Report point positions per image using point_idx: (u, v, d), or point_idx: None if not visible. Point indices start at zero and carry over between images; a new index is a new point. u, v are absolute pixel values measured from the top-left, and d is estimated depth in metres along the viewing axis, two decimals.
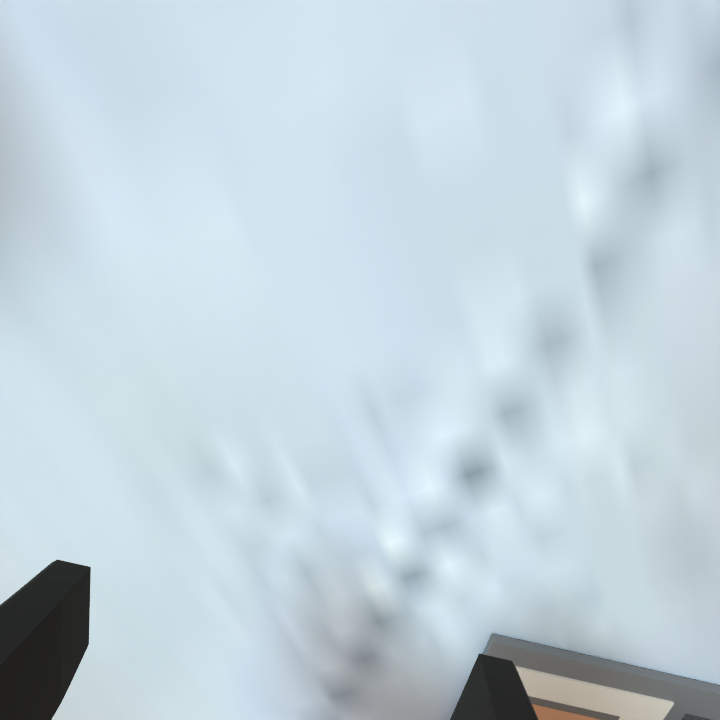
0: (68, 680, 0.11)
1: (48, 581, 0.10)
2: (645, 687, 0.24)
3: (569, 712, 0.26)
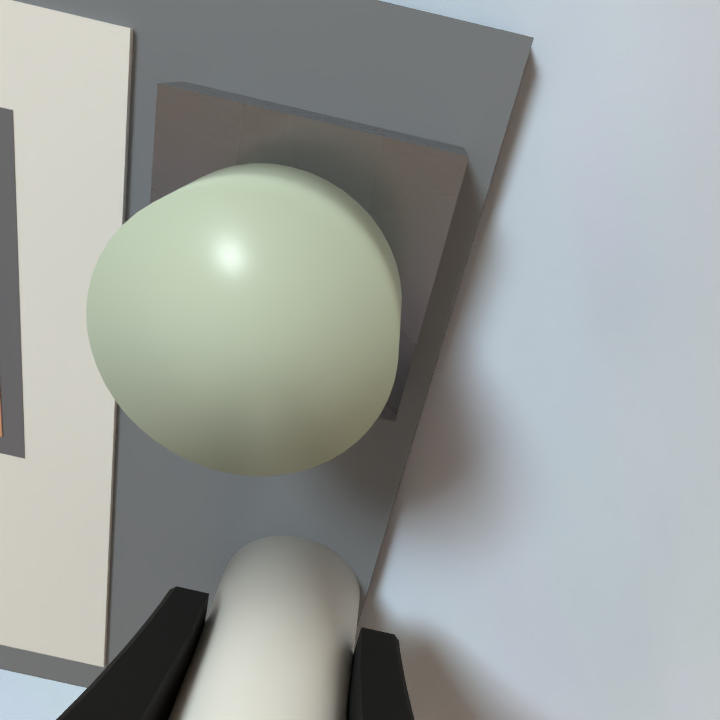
0: None
1: (175, 609, 0.10)
2: None
3: None
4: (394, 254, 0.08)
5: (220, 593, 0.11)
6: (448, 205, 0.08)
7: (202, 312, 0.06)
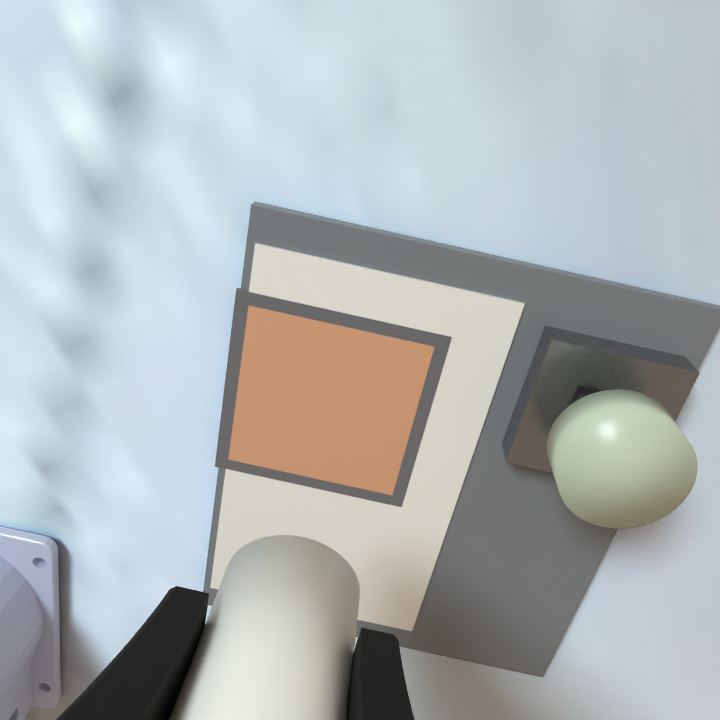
0: None
1: (175, 609, 0.10)
2: (480, 277, 0.17)
3: (382, 338, 0.18)
4: None
5: (218, 595, 0.11)
6: (685, 392, 0.17)
7: (613, 462, 0.15)
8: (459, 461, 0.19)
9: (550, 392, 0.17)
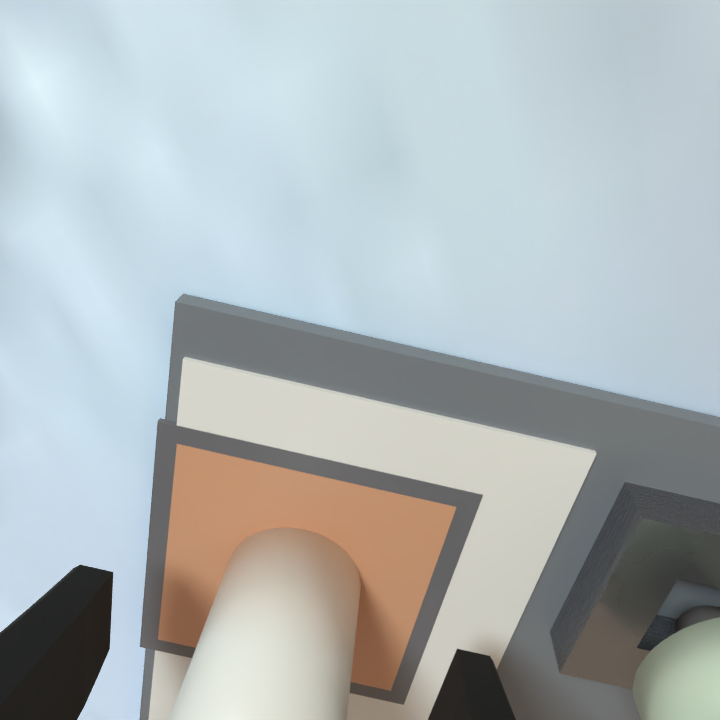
0: (90, 685, 0.11)
1: (72, 587, 0.10)
2: (530, 413, 0.11)
3: (378, 492, 0.12)
4: None
5: (221, 586, 0.12)
6: None
7: None
8: (487, 653, 0.13)
9: (634, 587, 0.11)
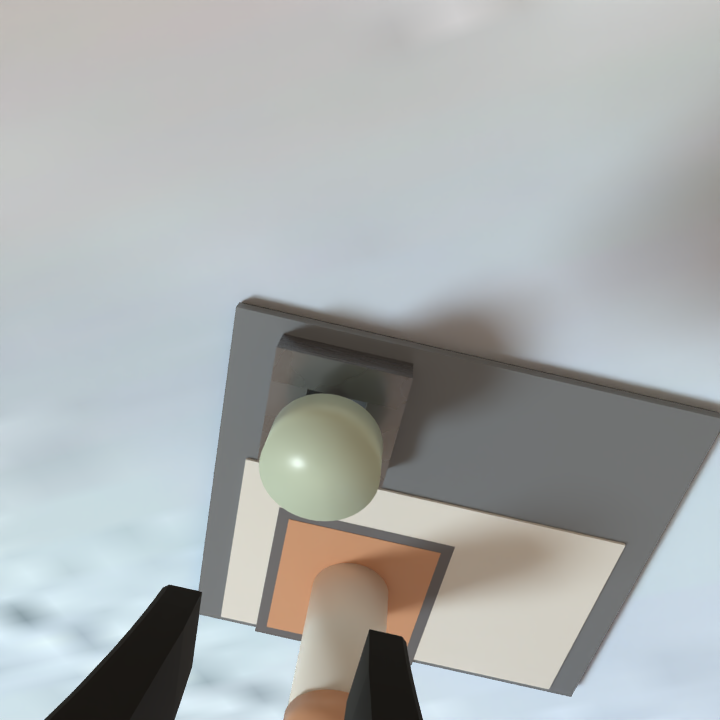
0: (178, 704, 0.11)
1: (167, 607, 0.10)
2: (228, 487, 0.21)
3: (286, 549, 0.22)
4: (321, 377, 0.18)
5: None
6: (298, 354, 0.18)
7: (306, 483, 0.16)
8: (402, 502, 0.21)
9: None
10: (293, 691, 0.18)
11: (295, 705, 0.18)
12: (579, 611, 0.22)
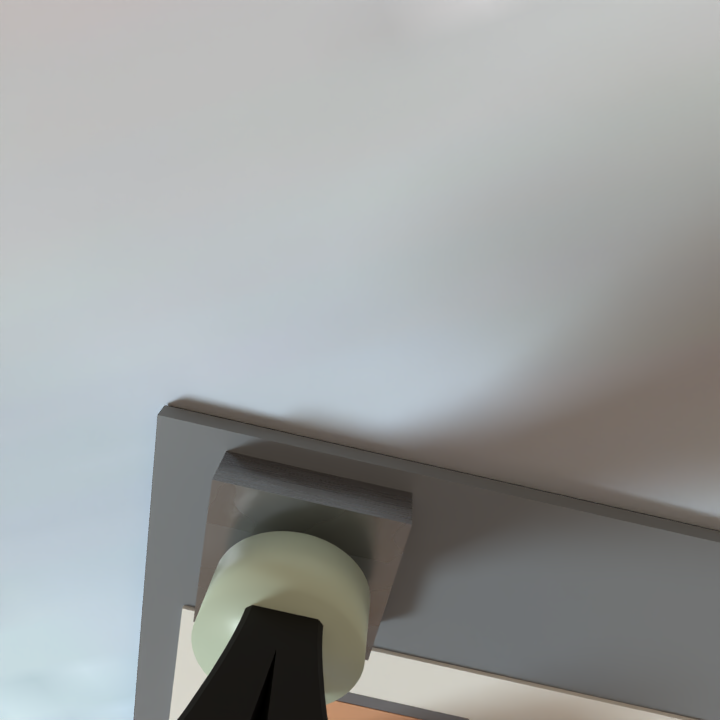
0: None
1: (256, 627, 0.10)
2: (161, 639, 0.16)
3: None
4: (279, 520, 0.12)
5: None
6: (244, 489, 0.12)
7: None
8: (397, 665, 0.15)
9: None
10: None
11: None
12: None
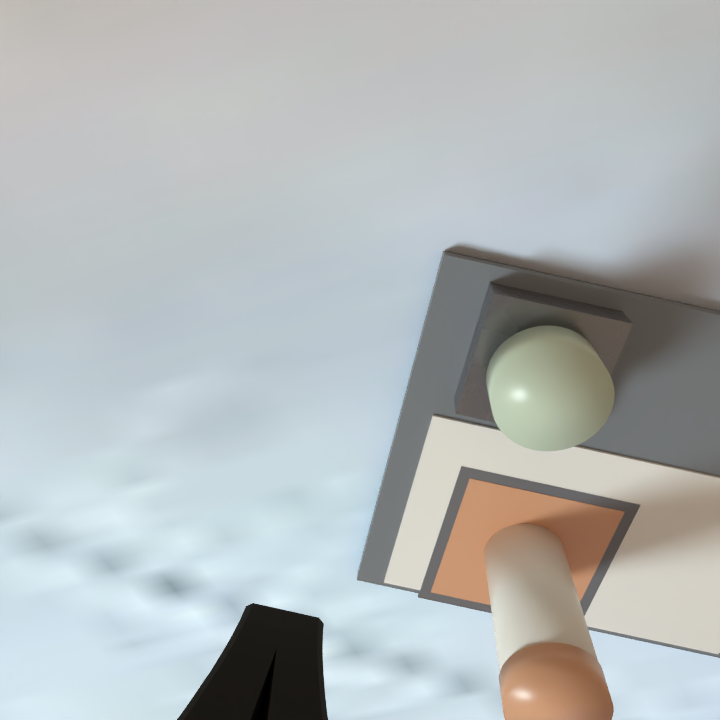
0: None
1: (256, 627, 0.10)
2: (410, 445, 0.21)
3: (461, 511, 0.22)
4: (536, 324, 0.18)
5: None
6: (514, 300, 0.17)
7: (536, 412, 0.17)
8: (591, 459, 0.20)
9: None
10: (507, 647, 0.18)
11: (518, 659, 0.17)
12: None
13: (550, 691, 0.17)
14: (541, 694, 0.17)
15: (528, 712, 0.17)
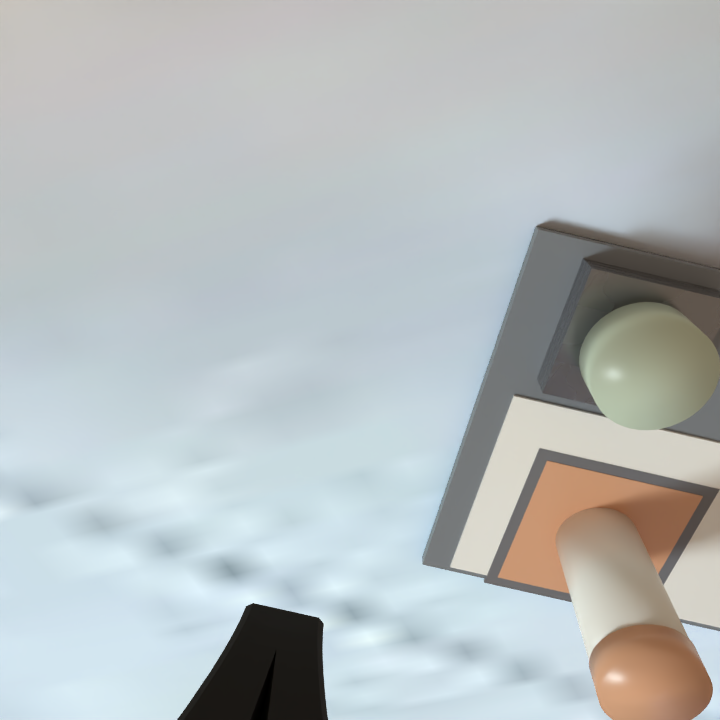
0: None
1: (256, 627, 0.10)
2: (487, 426, 0.20)
3: (535, 494, 0.21)
4: (633, 301, 0.17)
5: None
6: (613, 276, 0.17)
7: (638, 389, 0.16)
8: (673, 441, 0.20)
9: None
10: (598, 629, 0.18)
11: (613, 641, 0.17)
12: None
13: (649, 673, 0.16)
14: (639, 676, 0.16)
15: (624, 694, 0.17)
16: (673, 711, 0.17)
